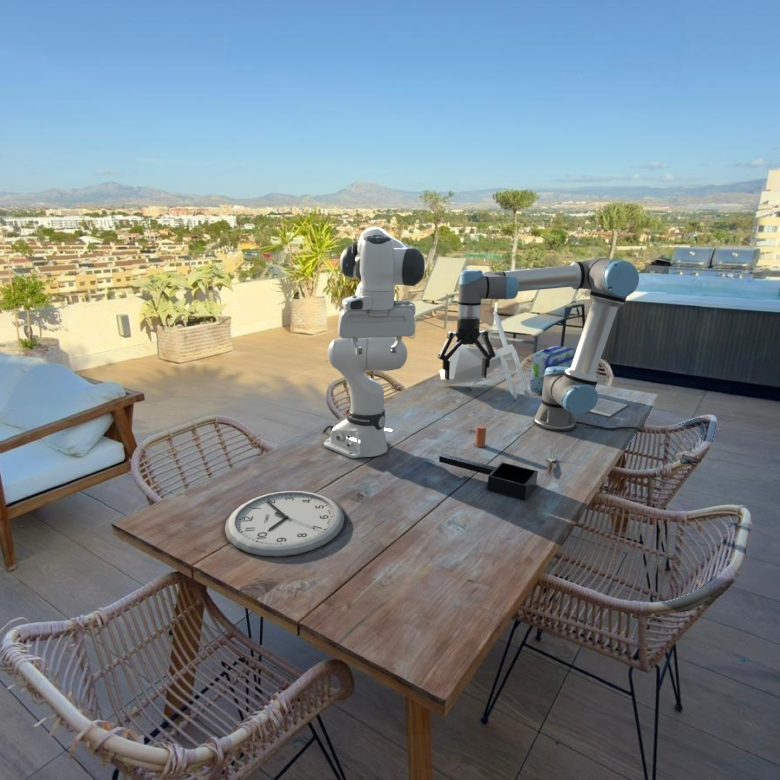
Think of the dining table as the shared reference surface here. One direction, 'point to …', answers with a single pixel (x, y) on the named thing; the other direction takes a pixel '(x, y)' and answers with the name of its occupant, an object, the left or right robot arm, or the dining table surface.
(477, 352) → the white plastic object
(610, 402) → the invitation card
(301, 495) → the wall clock
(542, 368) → the lunch box
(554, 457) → the fork
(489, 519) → the dining table surface
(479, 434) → the peg
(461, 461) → the pan
